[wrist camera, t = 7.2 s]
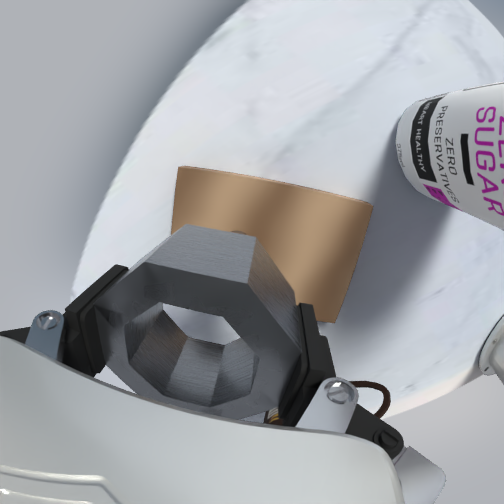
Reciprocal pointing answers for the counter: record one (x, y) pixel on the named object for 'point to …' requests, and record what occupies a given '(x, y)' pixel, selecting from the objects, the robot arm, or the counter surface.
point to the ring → (207, 301)
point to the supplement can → (457, 150)
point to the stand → (282, 228)
